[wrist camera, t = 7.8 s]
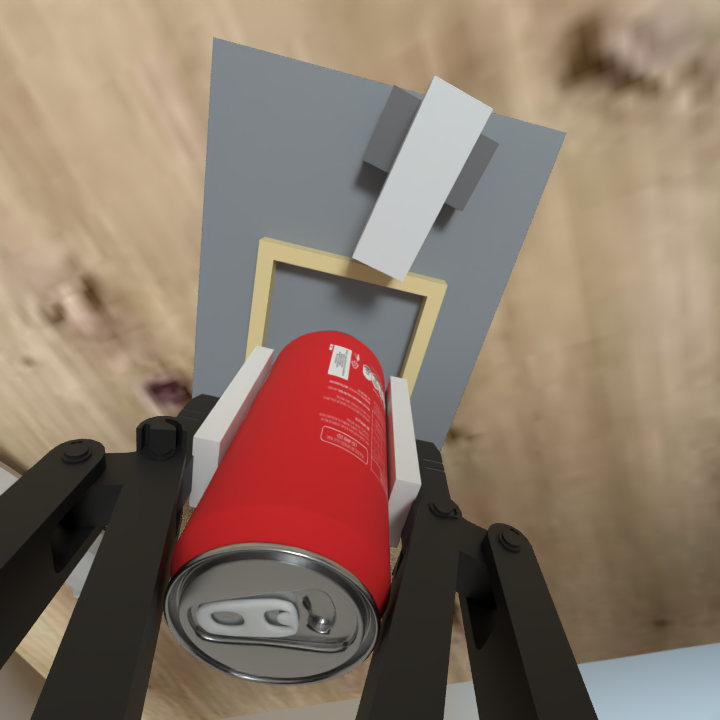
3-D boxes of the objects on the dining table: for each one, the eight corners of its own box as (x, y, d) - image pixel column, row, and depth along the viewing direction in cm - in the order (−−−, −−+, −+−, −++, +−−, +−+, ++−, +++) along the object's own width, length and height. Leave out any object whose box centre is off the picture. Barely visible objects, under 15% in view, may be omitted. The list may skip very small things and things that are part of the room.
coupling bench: (223, 45, 18) (169, 1, 14) (555, 135, 19) (613, 123, 15) (194, 466, 29) (158, 524, 24) (410, 511, 30) (416, 574, 25)
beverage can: (387, 415, 20) (396, 692, 10) (286, 420, 21) (187, 692, 10) (380, 318, 18) (385, 536, 7) (268, 325, 19) (116, 542, 8)
